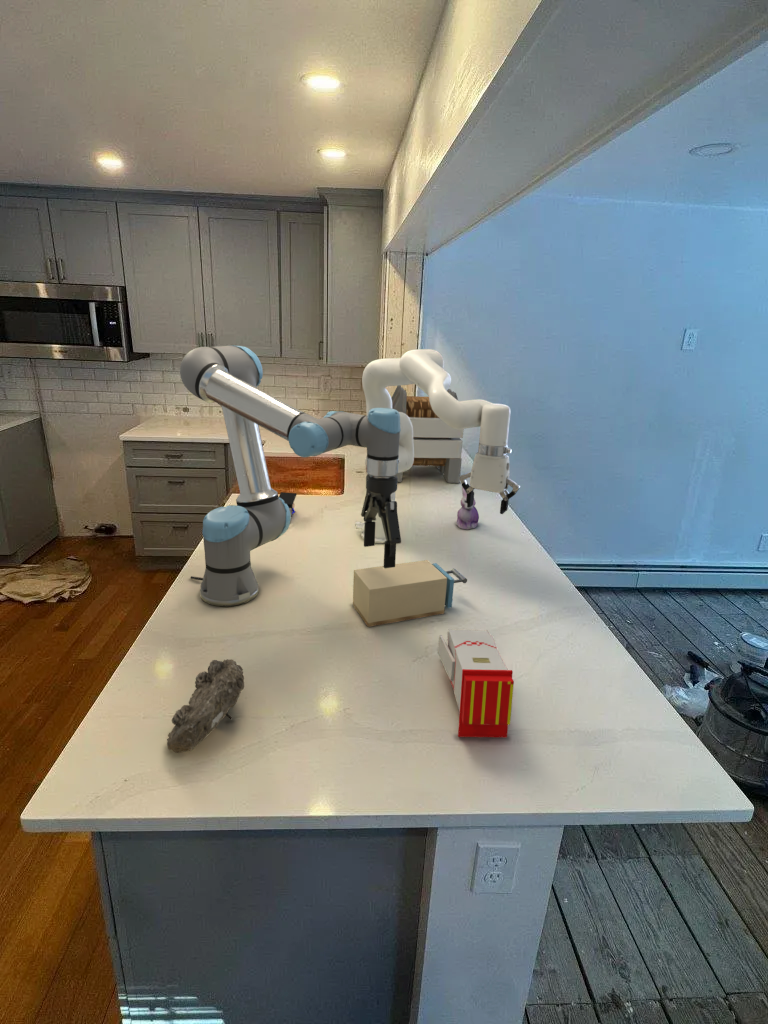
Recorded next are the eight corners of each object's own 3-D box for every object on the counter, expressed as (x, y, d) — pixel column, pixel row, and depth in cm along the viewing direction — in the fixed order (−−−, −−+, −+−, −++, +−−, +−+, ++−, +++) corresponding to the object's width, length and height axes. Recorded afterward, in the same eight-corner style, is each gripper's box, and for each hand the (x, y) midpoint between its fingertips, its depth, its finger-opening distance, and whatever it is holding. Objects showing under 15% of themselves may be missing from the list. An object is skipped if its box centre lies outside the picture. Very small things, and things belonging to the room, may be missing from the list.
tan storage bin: (424, 593, 159) (427, 559, 155) (444, 613, 149) (447, 578, 145) (352, 604, 151) (353, 569, 147) (368, 626, 141) (369, 589, 137)
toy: (488, 613, 130) (523, 677, 101) (484, 667, 133) (517, 744, 104) (435, 612, 130) (455, 676, 101) (432, 666, 133) (451, 743, 103)
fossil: (192, 660, 117) (244, 628, 112) (224, 691, 120) (276, 661, 115) (142, 746, 98) (202, 712, 93) (182, 779, 101) (242, 748, 96)
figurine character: (292, 527, 205) (297, 509, 218) (292, 508, 201) (297, 491, 215) (273, 526, 205) (280, 508, 218) (273, 507, 201) (279, 490, 215)
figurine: (464, 531, 204) (468, 492, 199) (448, 522, 212) (452, 484, 207) (485, 528, 208) (490, 489, 203) (469, 519, 217) (473, 481, 212)
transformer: (382, 463, 289) (386, 382, 275) (445, 464, 293) (451, 384, 279) (390, 482, 257) (394, 392, 243) (460, 483, 261) (468, 394, 247)
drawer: (450, 587, 161) (452, 560, 158) (468, 604, 152) (471, 576, 149) (367, 600, 151) (368, 572, 149) (381, 619, 142) (382, 590, 140)
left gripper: (418, 488, 125) (413, 575, 133) (377, 460, 147) (374, 536, 154) (387, 491, 123) (383, 579, 130) (350, 462, 144) (348, 539, 151)
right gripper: (527, 452, 153) (520, 511, 159) (467, 443, 161) (462, 500, 167) (519, 457, 147) (512, 519, 153) (457, 448, 155) (452, 507, 161)
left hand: (378, 556), depth 142 cm, fingers open, 13 cm apart
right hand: (486, 509), depth 160 cm, fingers open, 9 cm apart
